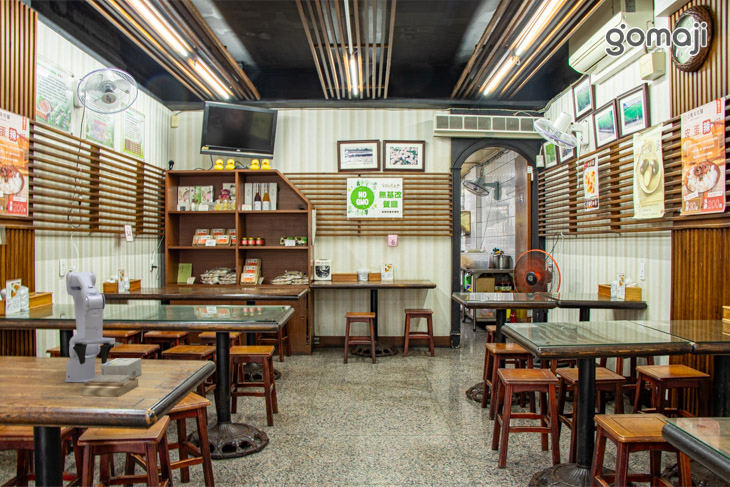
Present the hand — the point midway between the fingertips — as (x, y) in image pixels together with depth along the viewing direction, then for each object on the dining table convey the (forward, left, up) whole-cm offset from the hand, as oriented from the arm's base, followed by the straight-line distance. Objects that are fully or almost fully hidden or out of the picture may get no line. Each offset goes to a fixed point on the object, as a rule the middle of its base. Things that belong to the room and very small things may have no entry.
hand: (93, 363), depth 163 cm
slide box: (+8, -2, -9) cm, 12 cm away
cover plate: (+8, -2, -6) cm, 10 cm away
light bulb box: (+8, +14, -6) cm, 17 cm away
